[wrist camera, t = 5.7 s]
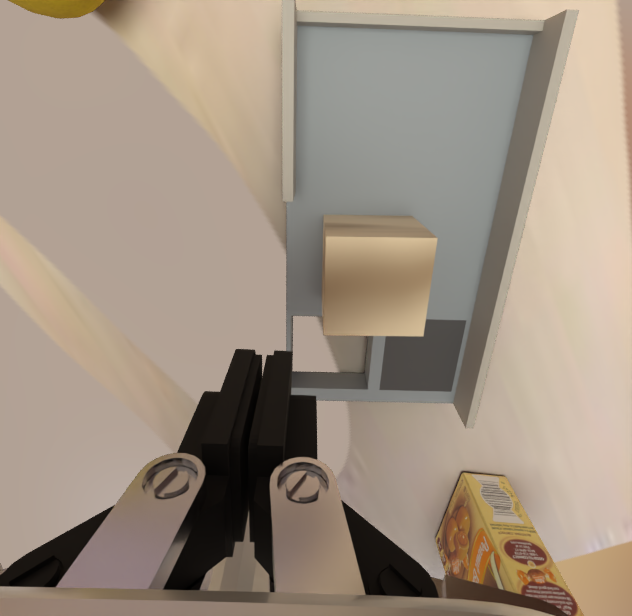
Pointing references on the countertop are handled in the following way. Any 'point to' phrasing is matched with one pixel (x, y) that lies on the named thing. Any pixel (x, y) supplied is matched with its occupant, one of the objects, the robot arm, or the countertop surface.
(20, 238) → the countertop surface
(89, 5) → the lemon
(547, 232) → the countertop surface
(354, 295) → the block
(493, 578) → the candy box
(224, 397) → the robot arm
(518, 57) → the pale blue tray
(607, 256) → the countertop surface
